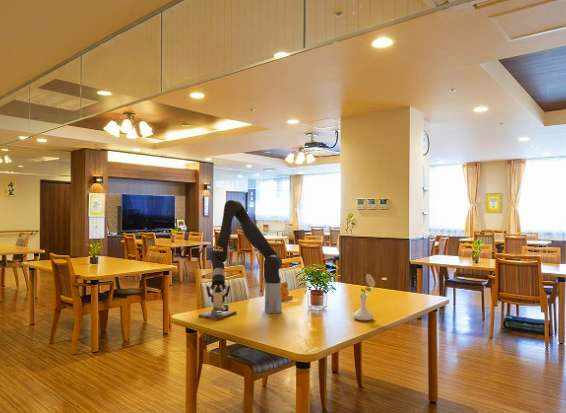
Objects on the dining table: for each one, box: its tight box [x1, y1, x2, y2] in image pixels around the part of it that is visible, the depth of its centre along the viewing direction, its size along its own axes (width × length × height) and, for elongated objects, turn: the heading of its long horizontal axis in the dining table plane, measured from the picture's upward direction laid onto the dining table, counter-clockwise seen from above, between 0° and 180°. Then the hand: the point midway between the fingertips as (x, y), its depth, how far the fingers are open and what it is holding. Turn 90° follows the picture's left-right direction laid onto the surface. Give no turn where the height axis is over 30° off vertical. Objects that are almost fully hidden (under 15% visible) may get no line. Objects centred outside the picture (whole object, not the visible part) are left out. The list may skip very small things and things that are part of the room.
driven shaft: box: [210, 309, 217, 317], centre depth 230 cm, size 3×4×3 cm
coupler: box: [212, 291, 223, 311], centre depth 236 cm, size 5×5×10 cm
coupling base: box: [198, 309, 237, 321], centre depth 236 cm, size 14×17×2 cm
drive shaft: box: [222, 303, 230, 311], centre depth 242 cm, size 3×4×3 cm
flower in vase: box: [352, 273, 376, 321], centre depth 232 cm, size 13×11×25 cm
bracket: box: [280, 280, 294, 302], centre depth 283 cm, size 11×7×12 cm, turn 125°
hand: (218, 302), depth 235 cm, fingers closed on coupler, 5 cm apart
